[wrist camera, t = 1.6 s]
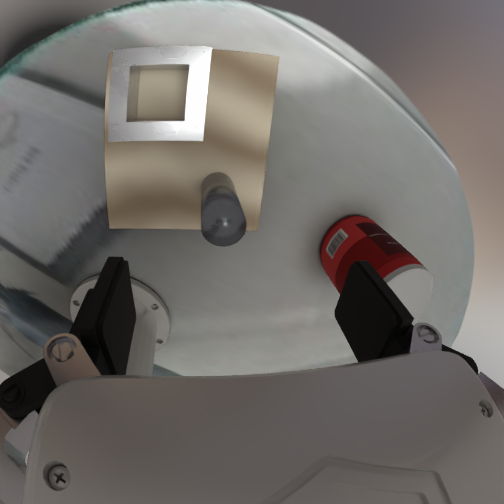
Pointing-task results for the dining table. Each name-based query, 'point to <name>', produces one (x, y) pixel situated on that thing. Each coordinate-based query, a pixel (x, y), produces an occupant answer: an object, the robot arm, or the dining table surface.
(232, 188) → the pin
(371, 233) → the canned food
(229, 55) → the board
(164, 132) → the collar
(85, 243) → the dining table surface
